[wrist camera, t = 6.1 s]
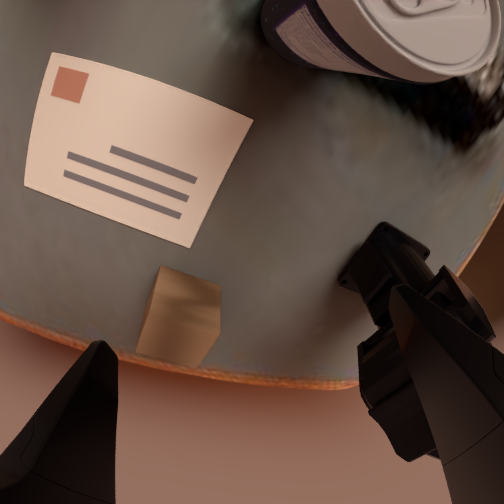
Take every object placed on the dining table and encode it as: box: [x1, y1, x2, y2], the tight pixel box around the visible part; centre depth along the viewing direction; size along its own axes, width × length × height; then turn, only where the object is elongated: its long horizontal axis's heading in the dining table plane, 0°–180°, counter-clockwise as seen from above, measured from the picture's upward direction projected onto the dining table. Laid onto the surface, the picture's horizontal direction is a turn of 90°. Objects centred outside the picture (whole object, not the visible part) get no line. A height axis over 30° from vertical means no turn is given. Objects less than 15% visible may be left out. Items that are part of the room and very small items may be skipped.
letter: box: [24, 52, 254, 248], centre depth 17 cm, size 14×10×1 cm
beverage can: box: [261, 0, 501, 84], centre depth 8 cm, size 6×6×12 cm
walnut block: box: [135, 265, 221, 369], centre depth 22 cm, size 5×5×5 cm
